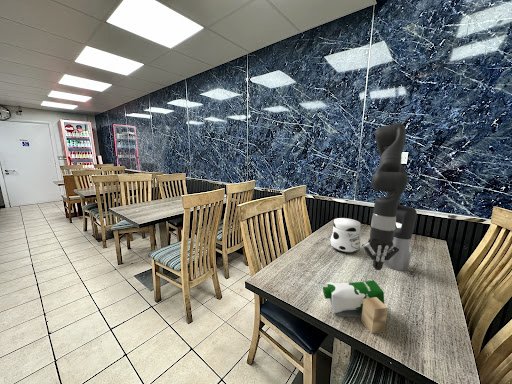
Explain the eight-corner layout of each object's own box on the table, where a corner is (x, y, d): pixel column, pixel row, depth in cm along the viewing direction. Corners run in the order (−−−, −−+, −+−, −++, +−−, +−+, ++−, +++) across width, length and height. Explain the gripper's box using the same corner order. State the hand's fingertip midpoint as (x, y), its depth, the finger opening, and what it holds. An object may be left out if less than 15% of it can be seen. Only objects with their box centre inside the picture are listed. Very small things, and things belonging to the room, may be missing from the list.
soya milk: (385, 291, 69) (327, 295, 71) (386, 314, 71) (328, 317, 73) (372, 276, 78) (320, 280, 80) (373, 297, 79) (322, 300, 81)
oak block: (373, 319, 71) (376, 297, 70) (384, 331, 66) (388, 307, 65) (360, 321, 70) (363, 298, 69) (371, 333, 66) (374, 309, 64)
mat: (362, 291, 86) (362, 290, 86) (381, 318, 72) (382, 317, 71) (325, 288, 87) (325, 288, 87) (336, 315, 73) (336, 314, 73)
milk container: (361, 257, 116) (365, 228, 113) (330, 252, 121) (332, 224, 118) (357, 245, 132) (360, 219, 129) (329, 241, 137) (331, 216, 134)
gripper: (395, 223, 76) (389, 264, 79) (359, 222, 77) (355, 263, 80) (408, 230, 69) (401, 275, 72) (369, 229, 70) (363, 273, 73)
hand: (377, 269), depth 76 cm, fingers closed
